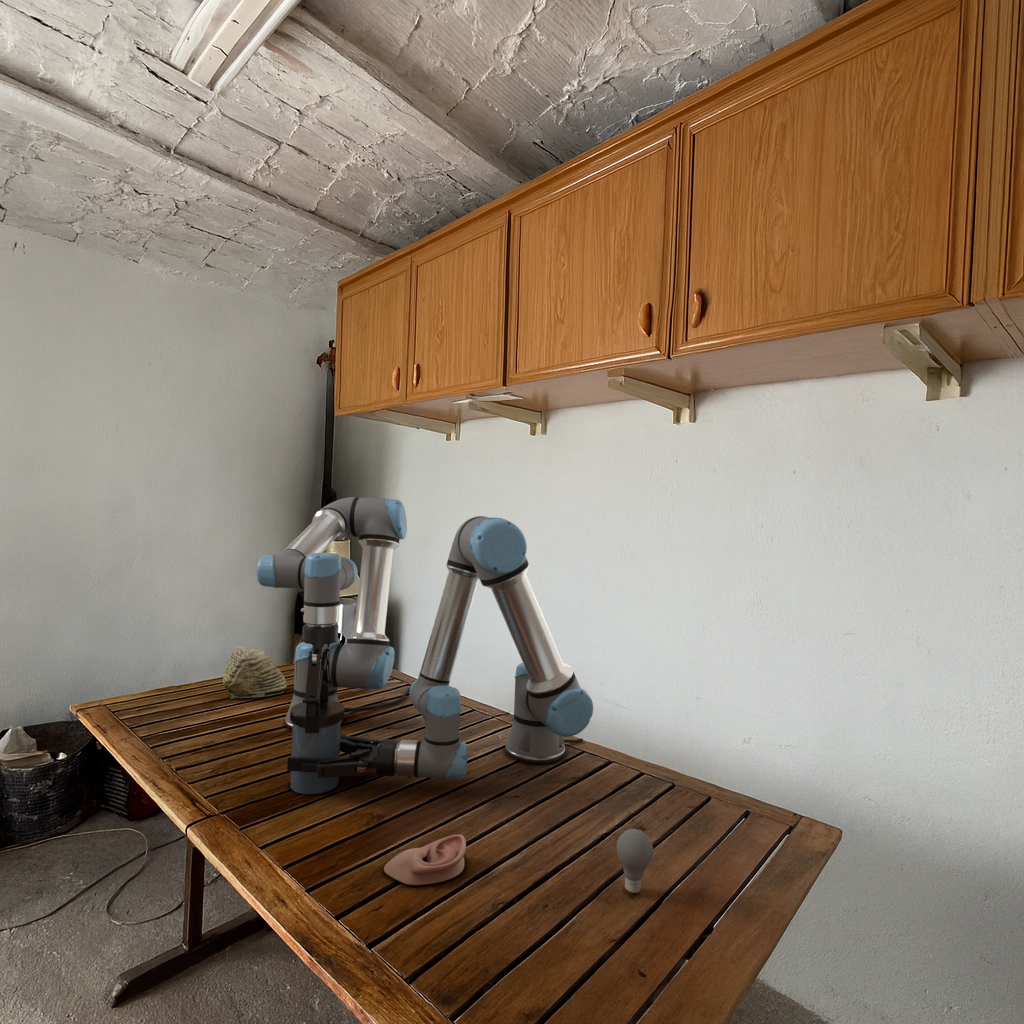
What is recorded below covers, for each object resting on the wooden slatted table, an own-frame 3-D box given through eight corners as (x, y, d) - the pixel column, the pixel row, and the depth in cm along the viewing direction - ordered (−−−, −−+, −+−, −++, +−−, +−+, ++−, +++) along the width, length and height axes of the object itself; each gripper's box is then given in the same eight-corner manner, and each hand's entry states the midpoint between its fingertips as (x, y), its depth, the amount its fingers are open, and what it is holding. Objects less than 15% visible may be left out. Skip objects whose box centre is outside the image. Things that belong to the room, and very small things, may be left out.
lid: (315, 731, 132) (315, 720, 132) (278, 719, 138) (278, 709, 137) (354, 716, 141) (355, 706, 141) (319, 706, 147) (319, 696, 147)
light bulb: (610, 879, 108) (613, 822, 108) (644, 879, 109) (647, 822, 109) (619, 902, 102) (622, 840, 102) (655, 901, 103) (658, 840, 103)
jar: (320, 769, 147) (323, 700, 147) (348, 783, 141) (351, 711, 140) (280, 784, 139) (283, 711, 139) (308, 799, 133) (311, 722, 132)
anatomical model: (377, 856, 105) (402, 822, 117) (376, 879, 106) (401, 843, 117) (453, 868, 103) (472, 833, 114) (452, 892, 103) (471, 854, 114)
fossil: (218, 695, 195) (220, 647, 195) (278, 685, 208) (279, 640, 207) (228, 703, 189) (230, 653, 188) (289, 692, 201) (290, 645, 201)
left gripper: (312, 613, 150) (309, 704, 151) (291, 635, 127) (287, 743, 127) (345, 614, 151) (341, 705, 152) (330, 635, 128) (326, 743, 128)
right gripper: (385, 799, 128) (276, 794, 128) (405, 754, 151) (312, 749, 151) (387, 762, 128) (278, 757, 128) (406, 722, 151) (314, 718, 151)
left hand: (317, 722), depth 139 cm, fingers closed on lid, 11 cm apart
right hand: (296, 753), depth 140 cm, fingers closed on jar, 10 cm apart
